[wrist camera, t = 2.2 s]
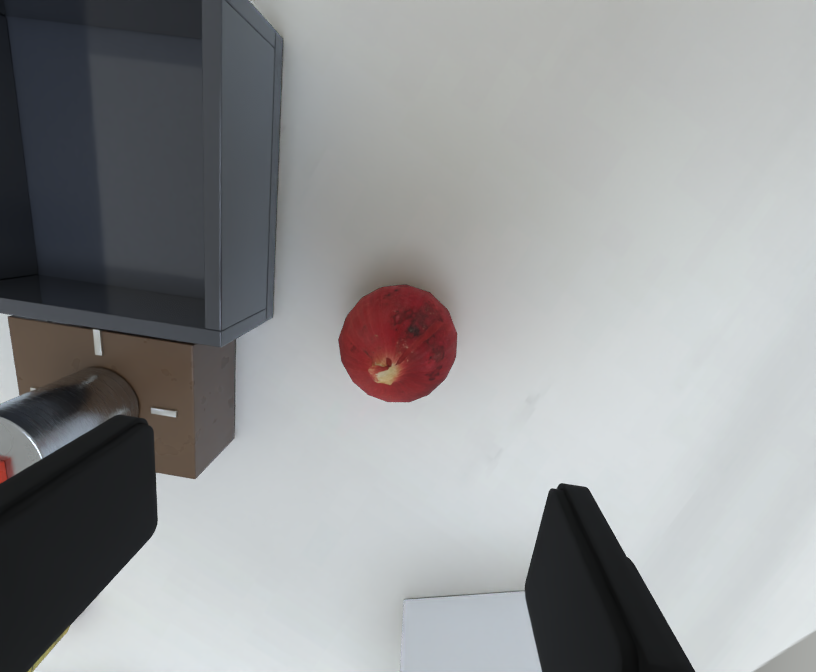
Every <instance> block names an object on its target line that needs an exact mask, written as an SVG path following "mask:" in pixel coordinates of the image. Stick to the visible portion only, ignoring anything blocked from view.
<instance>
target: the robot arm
mask: <svg viewBox="0 0 816 672" xmlns="http://www.w3.org/2000/svg"><path fill="white" fill-rule="evenodd" d="M157 520H158V518H157V495H156V472H155V448H154V431H153V428H152V427H151V426H149V425H148V422H147V420H146V419H144V418H139V417H133V416H126V415H116V416H113V417H112V418H110V419H108V420H107V421H105V422H103V423H102V424H100V425H98V426H97V427H95V428H93V429H92V430H90V431H88V432H86V433H85V434H83V435H81V436H80V437H78V438H76V439H75V440H73V441H71V442H70V443H68V444H66V445H65V446H63V447H61V448H59V449H58V450H56V451H54V452H53V453H51V454H49V455H48V456H46V457H44V458H43V459H41V460H39V461H38V462H36V463H34V464H32V465H31V466H29V467H27V468H26V469H24V470H22V471H21V472H19V473H17V474H16V475H14V476H12V477H11V478H9V479H7V480H6V481H4V482H2V483H0V672H28V671H29V669H30V668H31V667H32V666H33V665H34V664H35V663H36V662H37V661H38V660H39V659H40V658H41V656H42V655H43V654H44V653H45V652H46V651H47V650H48V649H49V648H50V647H51V646H52V644H53V643H54V642H55V641H56V640H57V639H58V638H59V637H60V636H61V635H62V634H63V633H64V631H65V630H66V629H67V628H68V627H69V626H70V625H71V624H72V623H73V622H74V621H75V619H76V618H77V617H78V616H79V615H80V614H81V613H82V612H83V611H84V610H85V609H86V607H87V606H88V605H89V604H90V603H91V602H92V601H93V600H94V599H95V598H96V597H97V596H98V594H99V593H100V592H101V591H102V590H103V589H104V588H105V587H106V586H107V585H108V584H109V582H110V581H111V580H112V579H113V578H114V577H115V576H116V575H117V574H118V573H119V572H120V570H121V569H122V568H123V567H124V566H125V565H126V564H127V563H128V562H129V561H130V560H131V559H132V557H133V556H134V555H135V554H136V553H137V552H138V551H139V550H140V549H141V548H142V547H143V545H144V544H145V543H146V542H147V541H148V540H149V539H150V538H151V536H152V535H153V533H154V531H155V529H156V526H157ZM525 599H526V604H527V608H528V613H529V617H530V621H531V626H532V630H533V635H534V639H535V643H536V648H537V652H538V657H539V661H540V665H541V670H542V672H695V670H694V669H693V667H692V665H691V663H690V662H689V660H688V658H687V656H686V655H685V653H684V651H683V649H682V648H681V646H680V644H679V642H678V641H677V639H676V637H675V635H674V634H673V632H672V630H671V628H670V627H669V625H668V623H667V621H666V619H665V618H664V616H663V614H662V612H661V611H660V609H659V607H658V605H657V604H656V602H655V600H654V598H653V597H652V595H651V593H650V591H649V590H648V588H647V586H646V584H645V583H644V581H643V579H642V577H641V576H640V574H639V572H638V570H637V568H636V567H635V565H634V564H633V562H632V561H631V560H630V559H629V558H628V557H626V555H625V553H624V551H623V550H622V548H621V546H620V544H619V542H618V541H617V539H616V537H615V535H614V533H613V532H612V530H611V528H610V526H609V524H608V523H607V521H606V519H605V517H604V516H603V514H602V512H601V510H600V508H599V507H598V505H597V503H596V501H595V499H594V498H593V496H592V494H591V492H590V491H589V489H588V488H586V487H582V486H576V485H569V484H563V483H561V484H559V486H558V487H557V489H550V491H549V493H548V497H547V501H546V505H545V509H544V512H543V516H542V520H541V524H540V528H539V532H538V536H537V540H536V543H535V547H534V551H533V555H532V559H531V563H530V567H529V571H528V575H527V578H526V583H525Z"/></svg>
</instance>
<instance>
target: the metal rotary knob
mask: <svg viewBox="0 0 816 672" xmlns="http://www.w3.org/2000/svg"><path fill="white" fill-rule="evenodd" d="M138 414H139V405H138V400H137V397H136V395H135V393H134V391H133V389H132V388H131V386H130V385H129V384H128V383H127V382H126V381H125V380H124V379H123V378H122V377H120V376H119V375H118V374H116V373H114V372H112V371H110V370H107V369H104V368H97V367H91V368H85V369H82V370H80V371H78V372H75V373H73V374H70V375H68V376H66V377H63V378H61V379H58V380H56V381H54V382H51V383H49V384H47V385H44V386H42V387H39V388H37V389H35V390H32V391H30V392H27V393H25V394H23V395H20V396H18V397H16V398H13V399H11V400H8V401H6V402H4V403H1V404H0V483H2V482H4V481H6V480H7V479H9V478H11V477H12V476H14V475H16V474H17V473H19V472H21V471H22V470H24V469H26V468H27V467H29V466H31V465H32V464H34V463H36V462H38V461H39V460H41V459H43V458H44V457H46V456H48V455H49V454H51V453H53V452H54V451H56V450H58V449H59V448H61V447H63V446H65V445H66V444H68V443H70V442H71V441H73V440H75V439H76V438H78V437H80V436H81V435H83V434H85V433H86V432H88V431H90V430H92V429H93V428H95V427H97V426H98V425H100V424H102V423H103V422H105V421H107V420H108V419H110V418H112V417H113V416H116V415H126V416H133V417H138Z"/></svg>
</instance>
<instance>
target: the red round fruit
mask: <svg viewBox="0 0 816 672" xmlns="http://www.w3.org/2000/svg"><path fill="white" fill-rule="evenodd" d="M338 340H339V347H340V354H341V361H342V363H343V365H344V367H345V369H346V370H347V372H348V374H349V376H350V377H351V379H352V381H353V382H354V383H355V384H356V385H357V386H359V387H360V388H361V389H362V390H363V391H364V392H366V393H367V394H368V395H370V396H373V397H376V398H378V399H381V400H384V401H387V402H411V401H414V400H416V399H419V398H421V397H424V396H427V395H429V394H430V393H431V392H432V391H433V390H434V389H435V388H436V387H437V386H438V385H439V384H440V383H442V382H443V381H444V380H445V379H446V377H447V375H448V373H449V371H450V369H451V367H452V365H453V363H454V361H455V358H456V348H457V332H456V330H455V327H454V324H453V321H452V319H451V316H450V313H449V311H448V310H447V308H446V307H445V306H444V305H442V304H441V303H440V302H439V301H438V300H437V299H436V298H435V297H434V296H433V295H432V294H431V293H430V292H427V291H424V290H421V289H418V288H415V287H412V286H409V285H396V286H387V287H381V288H379V289H377V290H375V291H373V292H371V293H370V294H368V295H366V296H364V297H362V298H361V299H360V301H359V302H358V303H357V304H356V305H355V307H354V308H353V309H352V310H351V311H350V312H349V314H348V315H347V317H346V319H345V322H344V325H343V328H342V331H341V333H340V336H339V339H338Z"/></svg>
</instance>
